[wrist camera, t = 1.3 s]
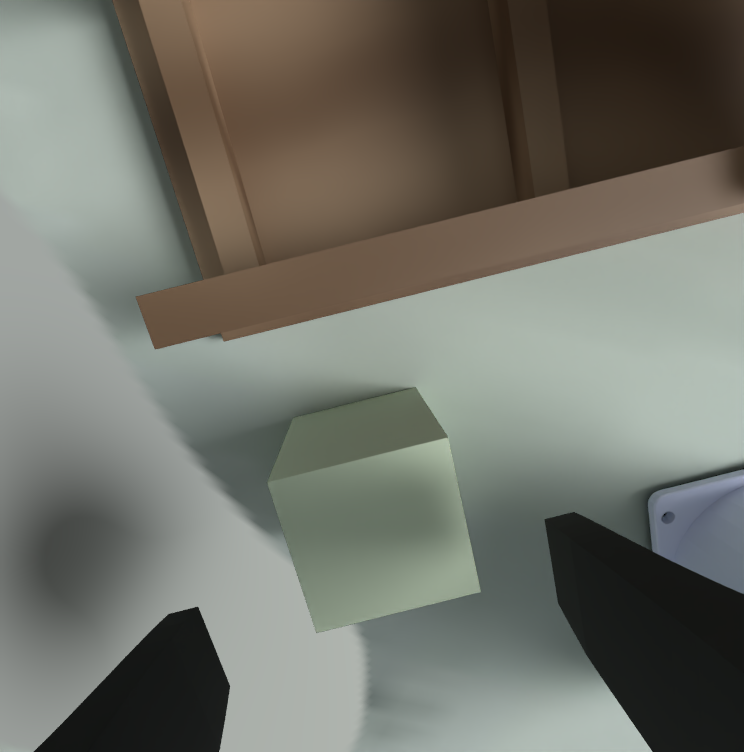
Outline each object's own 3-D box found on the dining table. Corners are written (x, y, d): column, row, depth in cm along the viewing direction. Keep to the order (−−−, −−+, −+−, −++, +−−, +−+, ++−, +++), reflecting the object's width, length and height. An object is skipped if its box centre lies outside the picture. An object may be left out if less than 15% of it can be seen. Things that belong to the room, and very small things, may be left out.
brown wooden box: (931, 164, 14) (1387, 71, 8) (230, 338, 14) (138, 381, 8) (959, -254, 12) (1649, -861, 5) (107, -44, 12) (-166, -413, 5)
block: (440, 497, 16) (480, 592, 11) (326, 525, 16) (316, 633, 11) (415, 386, 15) (448, 437, 10) (293, 417, 15) (266, 482, 10)
